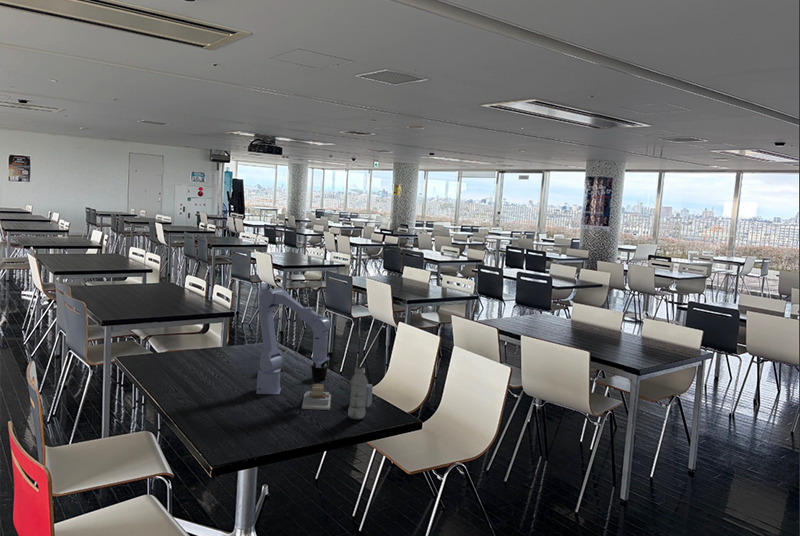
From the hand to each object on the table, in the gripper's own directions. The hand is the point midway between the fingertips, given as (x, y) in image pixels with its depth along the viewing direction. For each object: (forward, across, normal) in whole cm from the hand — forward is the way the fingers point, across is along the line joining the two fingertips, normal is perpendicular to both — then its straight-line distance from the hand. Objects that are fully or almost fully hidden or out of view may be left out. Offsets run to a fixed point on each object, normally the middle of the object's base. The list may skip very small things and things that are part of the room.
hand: (318, 379), depth 242 cm
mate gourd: (+10, +30, +1) cm, 32 cm away
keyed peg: (+9, 0, 0) cm, 9 cm away
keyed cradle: (+10, 0, 0) cm, 10 cm away
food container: (+10, +39, +20) cm, 45 cm away
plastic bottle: (+10, -15, -16) cm, 24 cm away
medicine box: (+10, 0, -18) cm, 21 cm away
